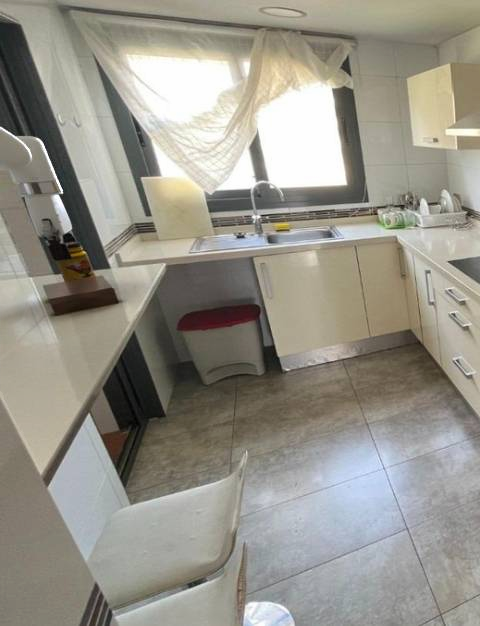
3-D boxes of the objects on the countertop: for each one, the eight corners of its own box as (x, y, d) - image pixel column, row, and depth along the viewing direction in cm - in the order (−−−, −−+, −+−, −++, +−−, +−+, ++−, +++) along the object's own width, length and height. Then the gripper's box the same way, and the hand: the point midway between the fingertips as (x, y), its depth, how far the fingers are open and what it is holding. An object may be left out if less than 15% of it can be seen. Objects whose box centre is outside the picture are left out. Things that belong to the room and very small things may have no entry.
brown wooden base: (55, 315, 104) (47, 299, 102) (48, 300, 114) (42, 285, 112) (119, 302, 112) (113, 287, 110) (108, 289, 121) (102, 275, 120)
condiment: (93, 289, 122) (76, 244, 118) (51, 293, 119) (32, 248, 114) (105, 281, 128) (89, 239, 124) (65, 285, 125) (47, 242, 121)
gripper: (29, 187, 119) (57, 251, 125) (5, 194, 105) (38, 265, 112) (69, 184, 123) (94, 247, 129) (51, 191, 109) (80, 260, 116)
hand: (68, 255), depth 121 cm, fingers open, 9 cm apart
